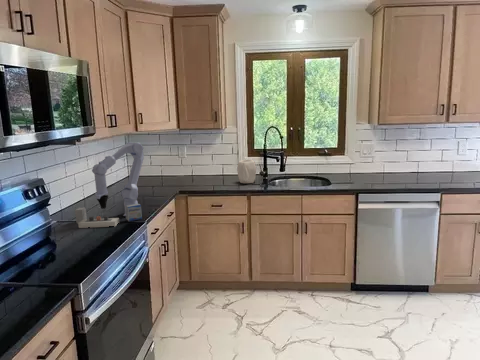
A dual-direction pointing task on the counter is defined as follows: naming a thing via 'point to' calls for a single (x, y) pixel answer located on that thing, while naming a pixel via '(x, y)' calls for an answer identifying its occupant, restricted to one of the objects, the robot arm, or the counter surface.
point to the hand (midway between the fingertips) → (103, 208)
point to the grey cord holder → (80, 214)
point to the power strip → (98, 223)
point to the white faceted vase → (246, 171)
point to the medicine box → (133, 212)
